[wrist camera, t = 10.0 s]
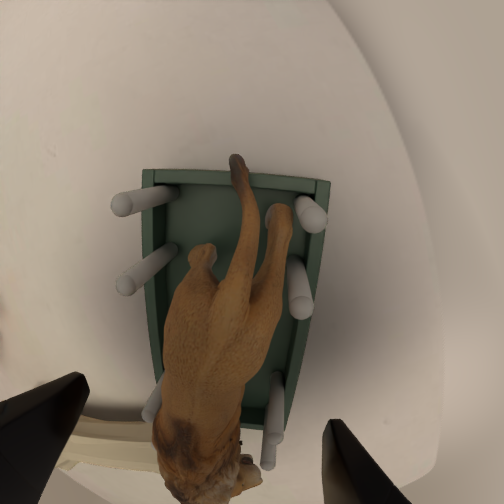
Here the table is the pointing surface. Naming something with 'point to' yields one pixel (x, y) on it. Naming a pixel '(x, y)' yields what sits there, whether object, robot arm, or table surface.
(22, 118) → the table surface
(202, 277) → the lion figurine
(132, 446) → the faceted club
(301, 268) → the drying rack
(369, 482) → the robot arm
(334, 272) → the table surface
